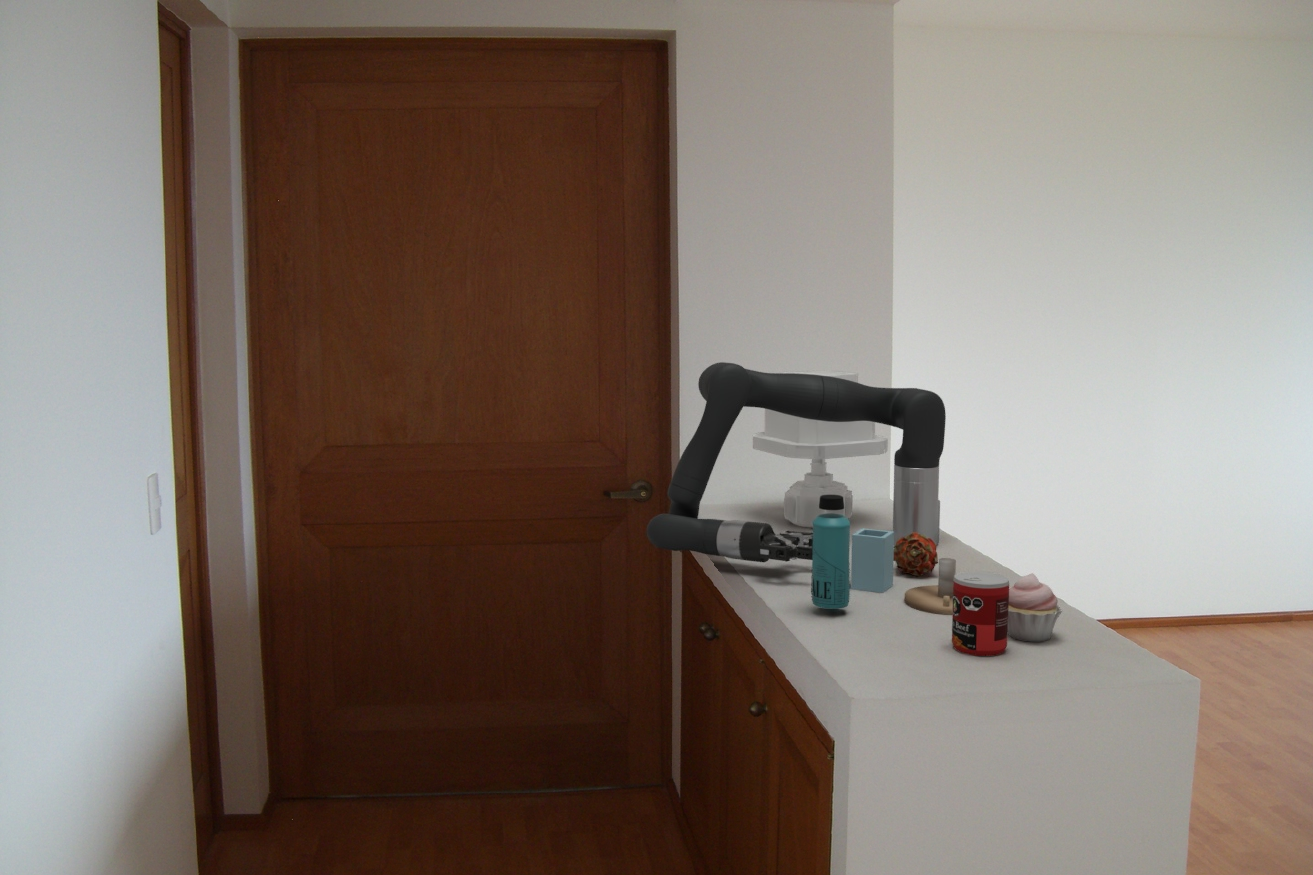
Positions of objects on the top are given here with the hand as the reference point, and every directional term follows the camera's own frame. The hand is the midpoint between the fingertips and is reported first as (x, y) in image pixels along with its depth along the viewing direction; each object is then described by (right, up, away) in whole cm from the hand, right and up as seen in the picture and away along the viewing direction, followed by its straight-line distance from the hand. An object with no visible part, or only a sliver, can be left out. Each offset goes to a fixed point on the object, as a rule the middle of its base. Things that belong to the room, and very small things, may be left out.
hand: (825, 549), depth 199 cm
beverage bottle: (-2, -9, -19) cm, 21 cm away
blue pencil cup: (+8, -6, -4) cm, 11 cm away
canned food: (+17, -11, -38) cm, 43 cm away
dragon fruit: (+18, -5, +6) cm, 20 cm away
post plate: (+19, -8, -14) cm, 25 cm away
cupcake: (+27, -10, -32) cm, 43 cm away
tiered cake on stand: (+7, +1, +52) cm, 52 cm away
